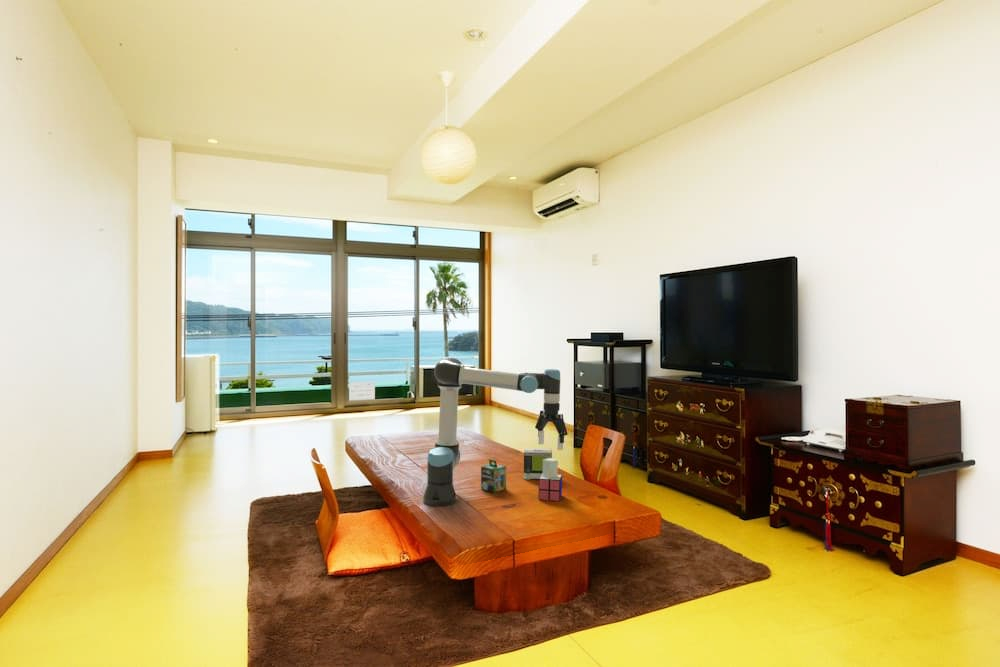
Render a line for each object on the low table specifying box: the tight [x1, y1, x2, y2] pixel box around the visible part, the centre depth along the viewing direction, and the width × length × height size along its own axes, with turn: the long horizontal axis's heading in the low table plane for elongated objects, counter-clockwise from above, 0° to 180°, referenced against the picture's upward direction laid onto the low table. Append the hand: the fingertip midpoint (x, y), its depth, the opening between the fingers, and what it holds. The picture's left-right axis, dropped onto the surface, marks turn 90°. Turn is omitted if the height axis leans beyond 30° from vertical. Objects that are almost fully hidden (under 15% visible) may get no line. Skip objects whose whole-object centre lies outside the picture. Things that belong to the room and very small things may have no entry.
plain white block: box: [543, 457, 559, 479], centre depth 258 cm, size 5×5×8 cm
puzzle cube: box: [538, 474, 563, 501], centre depth 258 cm, size 10×10×10 cm
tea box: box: [523, 448, 553, 480], centre depth 292 cm, size 15×10×15 cm, turn 84°
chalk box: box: [480, 458, 507, 494], centre depth 269 cm, size 9×9×15 cm
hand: (550, 447), depth 258 cm, fingers open, 13 cm apart
